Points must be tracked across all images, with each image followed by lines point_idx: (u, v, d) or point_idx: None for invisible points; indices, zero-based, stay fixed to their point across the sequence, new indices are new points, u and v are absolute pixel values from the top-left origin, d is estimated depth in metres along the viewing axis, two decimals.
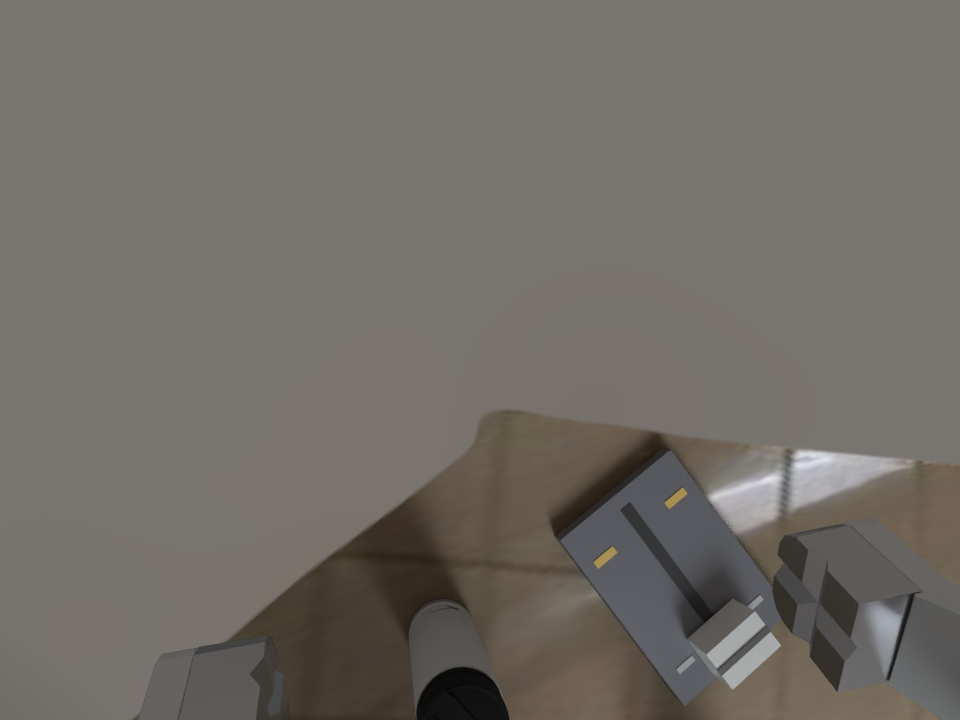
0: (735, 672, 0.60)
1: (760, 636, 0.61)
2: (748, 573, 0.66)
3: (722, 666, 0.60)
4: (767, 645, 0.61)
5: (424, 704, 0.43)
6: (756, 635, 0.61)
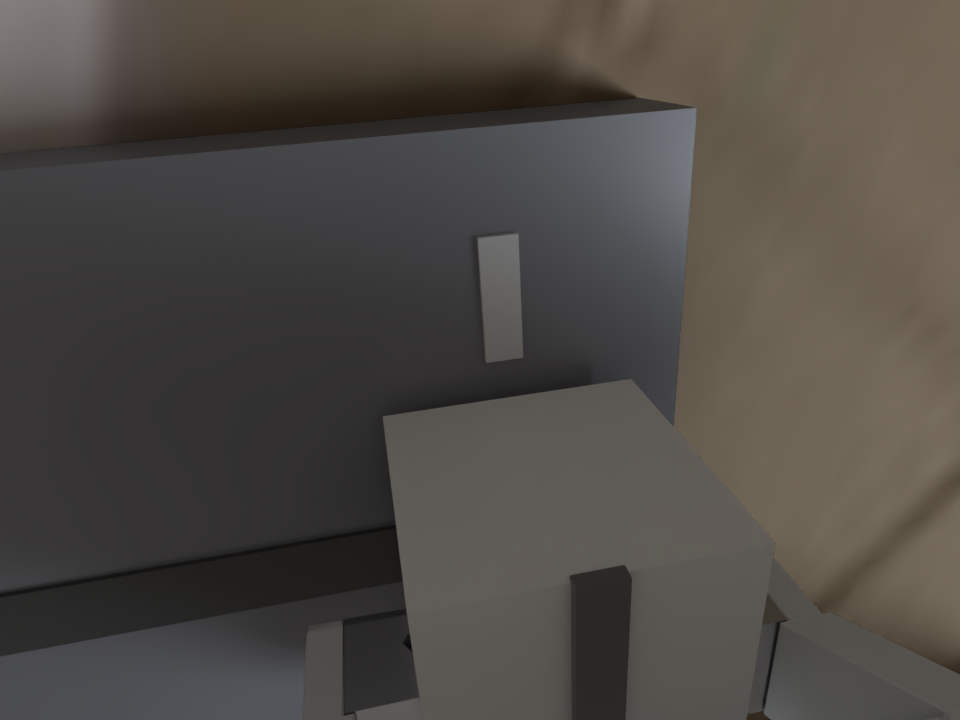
0: None
1: (604, 659, 0.07)
2: (308, 226, 0.09)
3: None
4: (694, 624, 0.08)
5: None
6: (575, 674, 0.07)
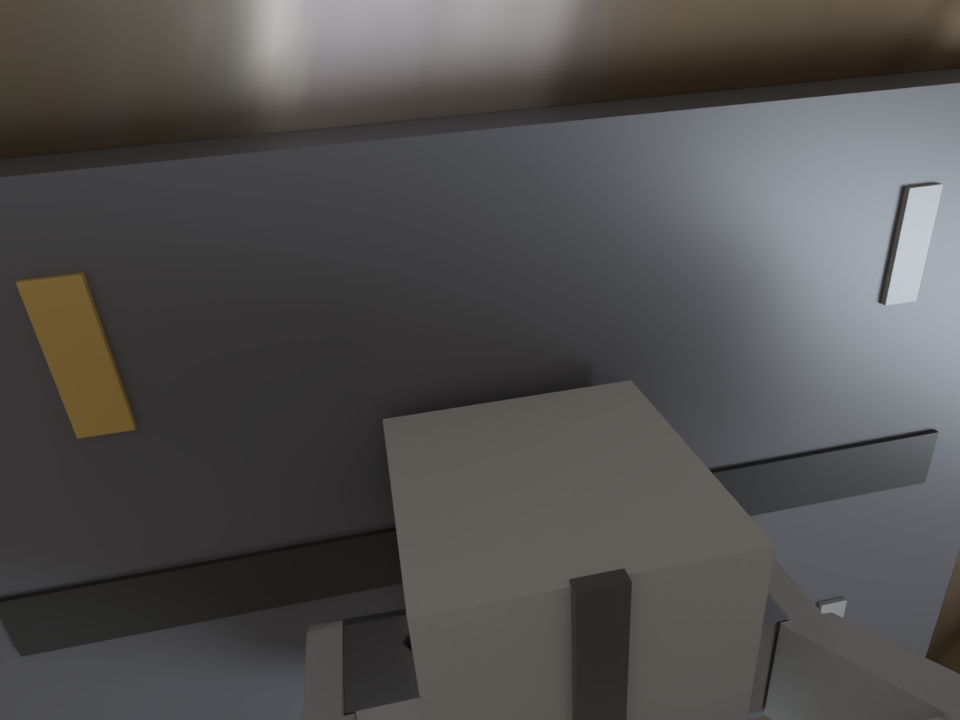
0: None
1: (604, 662, 0.07)
2: (775, 175, 0.10)
3: None
4: (694, 626, 0.08)
5: None
6: (575, 677, 0.07)
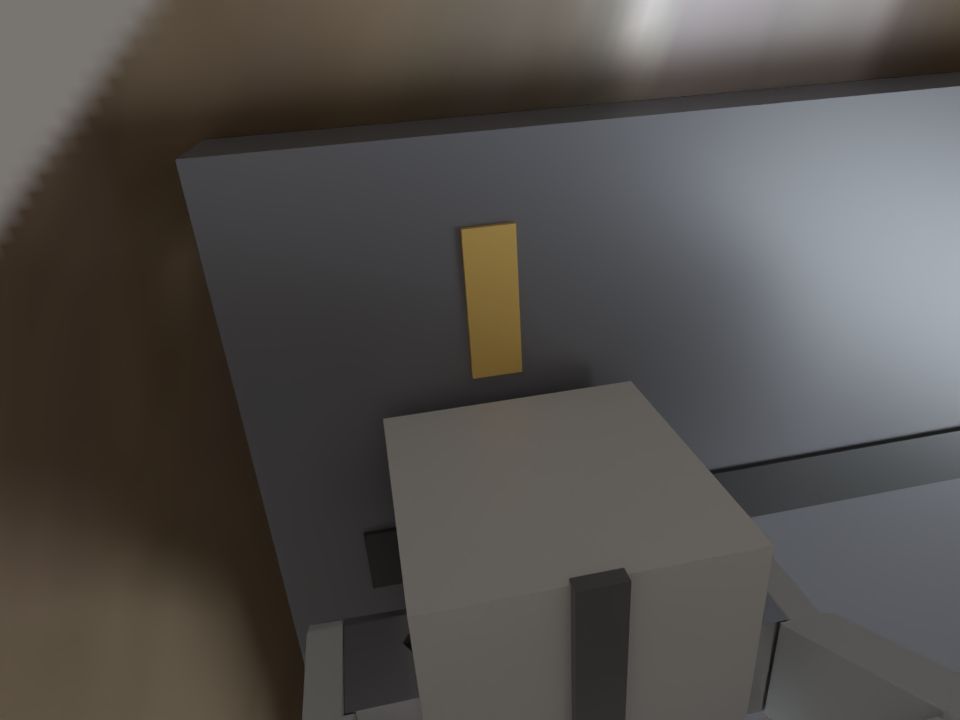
0: None
1: (603, 661, 0.07)
2: None
3: None
4: (694, 626, 0.08)
5: None
6: (575, 676, 0.07)
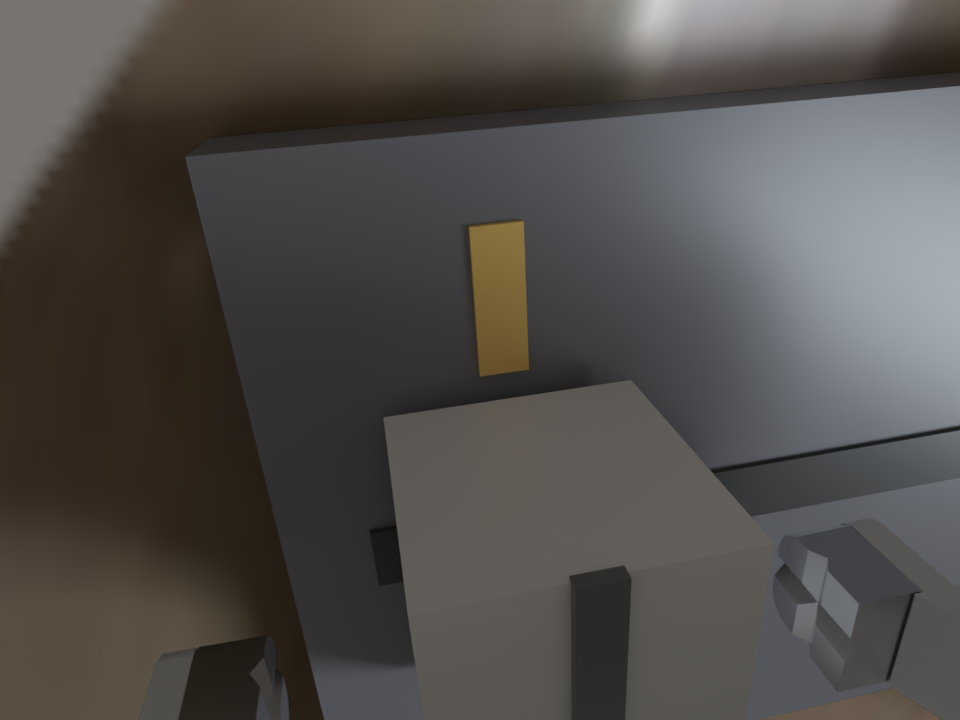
0: None
1: (603, 658, 0.07)
2: None
3: None
4: (694, 624, 0.08)
5: None
6: (575, 674, 0.07)
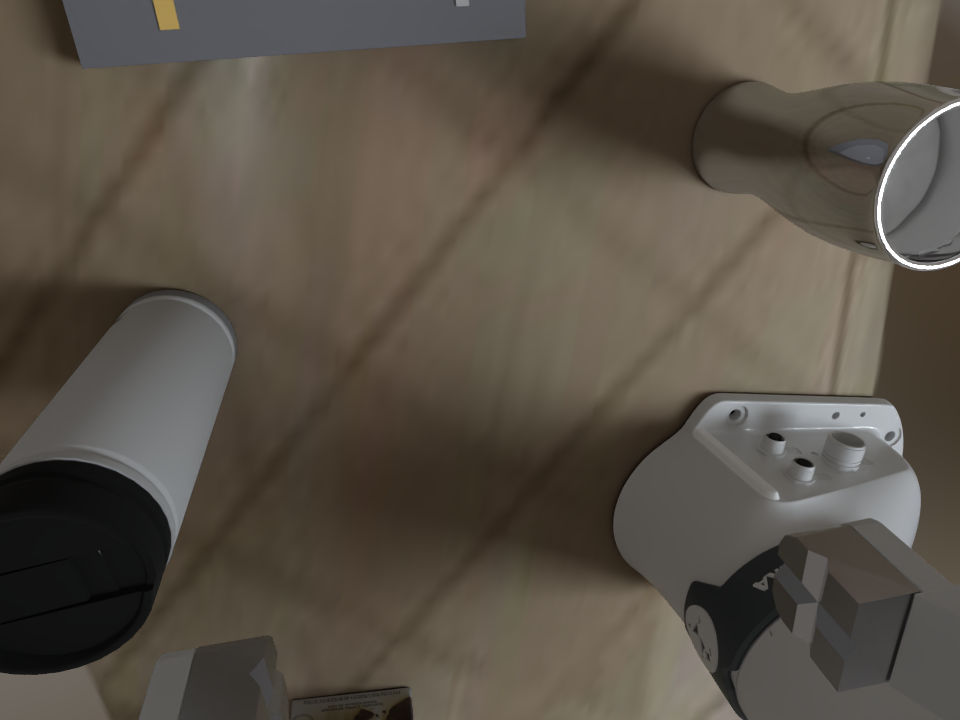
0: None
1: None
2: None
3: None
4: None
5: None
6: None
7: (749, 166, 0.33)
